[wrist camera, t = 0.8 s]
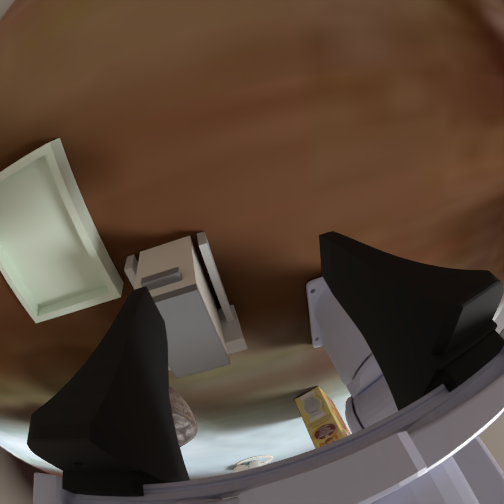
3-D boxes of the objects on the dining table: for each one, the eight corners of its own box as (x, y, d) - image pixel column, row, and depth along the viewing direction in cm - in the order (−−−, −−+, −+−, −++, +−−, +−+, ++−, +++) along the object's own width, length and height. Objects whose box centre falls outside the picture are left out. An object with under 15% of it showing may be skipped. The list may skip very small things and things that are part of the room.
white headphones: (231, 468, 50) (235, 484, 47) (232, 458, 46) (236, 475, 43) (270, 462, 52) (274, 476, 49) (274, 450, 48) (280, 467, 45)
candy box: (292, 398, 36) (331, 493, 24) (319, 384, 36) (365, 477, 23) (313, 414, 41) (348, 491, 28) (336, 401, 41) (374, 478, 28)
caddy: (216, 304, 25) (230, 363, 19) (173, 317, 24) (177, 378, 19) (187, 228, 21) (193, 281, 15) (137, 244, 20) (126, 302, 15)
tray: (123, 283, 21) (120, 297, 20) (41, 310, 21) (35, 323, 19) (59, 137, 15) (49, 141, 13) (-24, 190, 14) (-36, 198, 12)
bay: (237, 316, 26) (247, 348, 23) (167, 336, 25) (168, 370, 22) (208, 229, 21) (215, 258, 18) (123, 257, 20) (115, 289, 17)
